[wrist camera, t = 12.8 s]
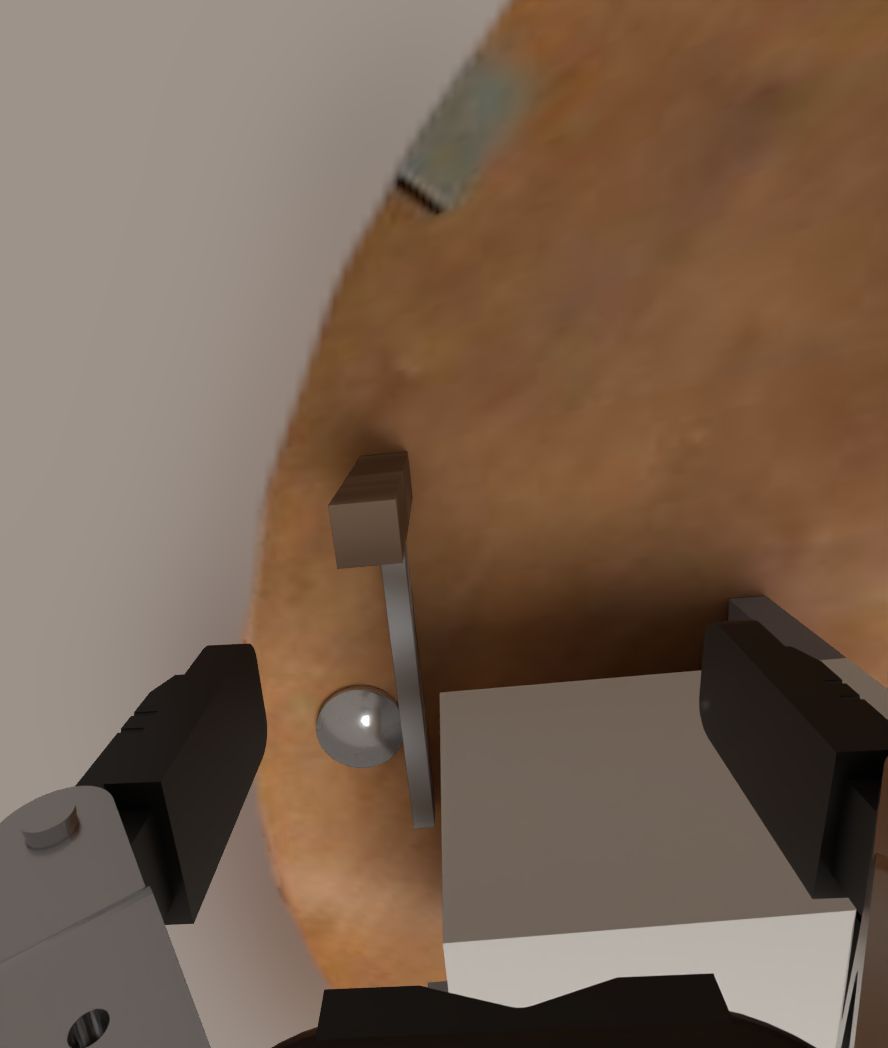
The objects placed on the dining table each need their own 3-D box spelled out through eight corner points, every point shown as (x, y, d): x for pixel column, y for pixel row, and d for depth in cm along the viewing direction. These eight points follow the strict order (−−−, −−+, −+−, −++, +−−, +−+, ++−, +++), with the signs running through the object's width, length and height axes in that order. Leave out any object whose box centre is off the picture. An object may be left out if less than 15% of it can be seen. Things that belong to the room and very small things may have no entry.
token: (315, 684, 36) (311, 694, 35) (401, 680, 36) (400, 689, 35) (324, 759, 37) (321, 770, 36) (408, 754, 37) (407, 765, 36)
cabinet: (420, 625, 34) (404, 946, 16) (765, 595, 34) (1145, 887, 16) (451, 909, 40) (464, 1384, 22) (747, 885, 40) (1012, 1345, 21)
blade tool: (360, 456, 32) (328, 505, 22) (407, 451, 32) (395, 499, 22) (405, 804, 38) (395, 962, 28) (444, 801, 38) (447, 958, 28)
